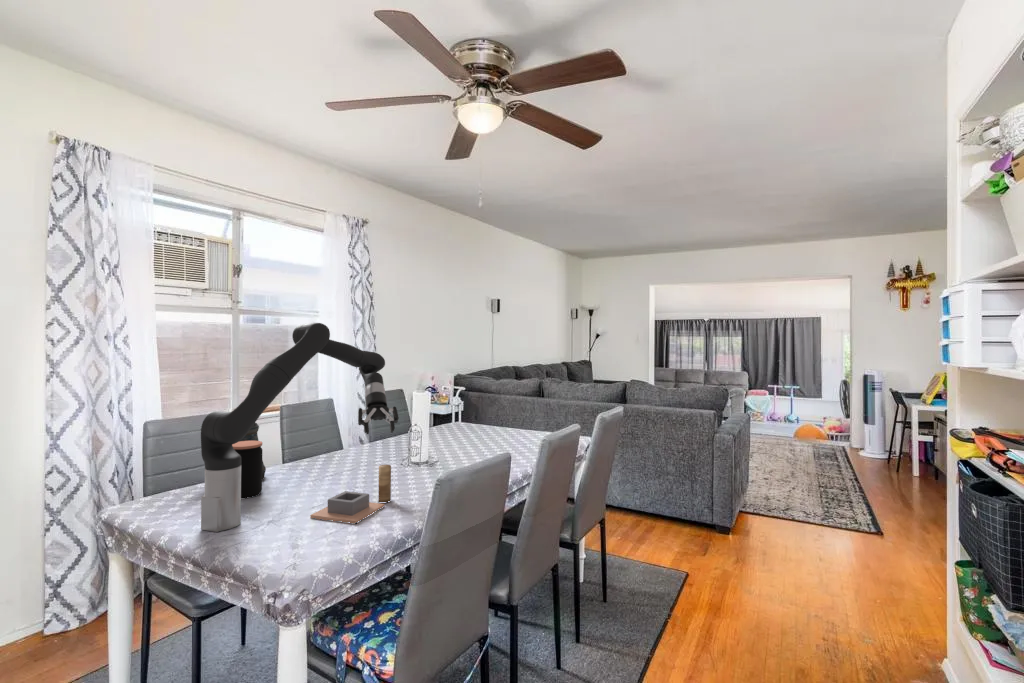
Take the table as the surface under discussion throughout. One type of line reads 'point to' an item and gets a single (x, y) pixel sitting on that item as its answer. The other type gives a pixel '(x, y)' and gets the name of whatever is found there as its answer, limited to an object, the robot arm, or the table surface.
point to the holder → (347, 507)
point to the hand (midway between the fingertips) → (380, 432)
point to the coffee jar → (250, 467)
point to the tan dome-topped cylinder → (384, 483)
